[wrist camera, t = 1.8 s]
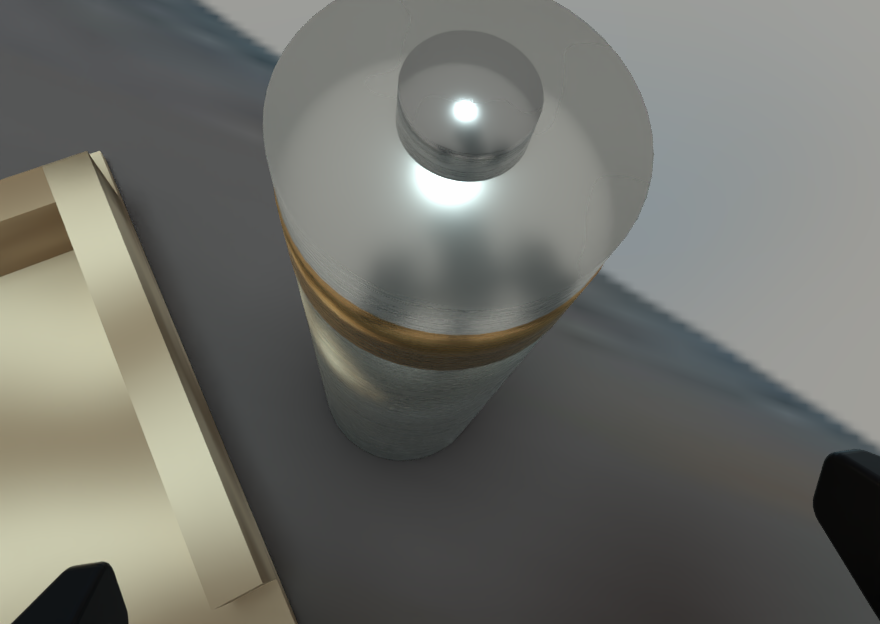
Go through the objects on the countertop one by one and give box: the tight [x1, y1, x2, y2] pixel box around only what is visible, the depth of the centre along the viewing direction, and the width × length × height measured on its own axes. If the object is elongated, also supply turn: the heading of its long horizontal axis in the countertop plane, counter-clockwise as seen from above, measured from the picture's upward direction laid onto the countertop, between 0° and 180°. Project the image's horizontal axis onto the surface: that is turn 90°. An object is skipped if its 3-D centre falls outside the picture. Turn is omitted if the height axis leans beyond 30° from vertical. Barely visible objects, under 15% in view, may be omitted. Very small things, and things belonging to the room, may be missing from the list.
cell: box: [263, 0, 654, 461], centre depth 13 cm, size 5×5×14 cm
